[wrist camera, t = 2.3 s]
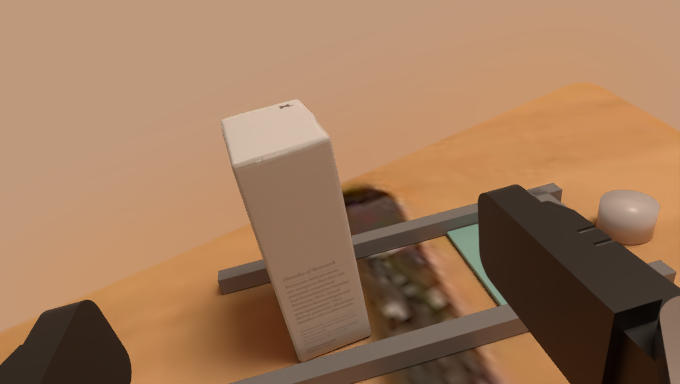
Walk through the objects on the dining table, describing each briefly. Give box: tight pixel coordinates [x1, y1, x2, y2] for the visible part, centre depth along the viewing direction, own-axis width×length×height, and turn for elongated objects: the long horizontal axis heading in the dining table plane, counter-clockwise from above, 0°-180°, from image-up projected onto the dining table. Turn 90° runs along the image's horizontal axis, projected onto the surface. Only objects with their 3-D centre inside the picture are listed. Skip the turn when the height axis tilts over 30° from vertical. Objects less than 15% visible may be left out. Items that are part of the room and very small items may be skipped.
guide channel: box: [218, 183, 676, 384], centre depth 25 cm, size 27×10×2 cm, turn 102°
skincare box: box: [221, 100, 371, 362], centre depth 22 cm, size 6×4×12 cm
